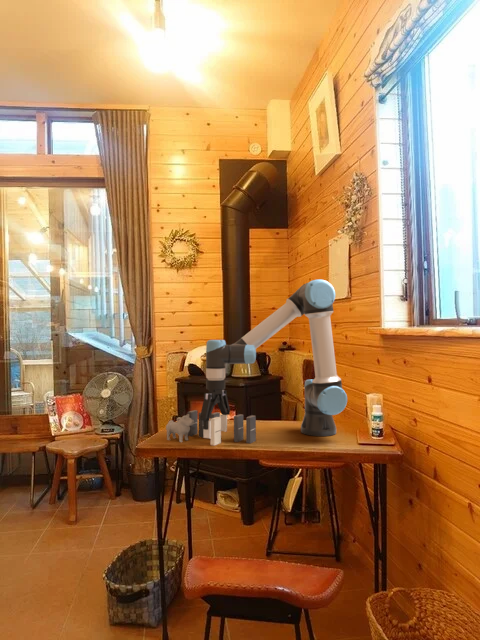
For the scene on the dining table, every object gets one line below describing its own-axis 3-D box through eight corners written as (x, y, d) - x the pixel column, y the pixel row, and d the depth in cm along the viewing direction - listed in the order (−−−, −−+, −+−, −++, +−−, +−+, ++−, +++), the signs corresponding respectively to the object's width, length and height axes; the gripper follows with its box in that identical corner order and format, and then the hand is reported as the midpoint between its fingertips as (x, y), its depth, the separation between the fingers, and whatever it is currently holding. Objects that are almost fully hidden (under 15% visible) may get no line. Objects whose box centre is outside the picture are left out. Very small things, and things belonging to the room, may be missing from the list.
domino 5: (255, 440, 180) (255, 415, 181) (250, 443, 176) (250, 417, 176) (251, 440, 181) (251, 415, 182) (246, 443, 177) (246, 417, 177)
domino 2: (208, 435, 190) (208, 411, 191) (202, 437, 186) (202, 413, 186) (204, 434, 191) (204, 411, 192) (198, 437, 187) (198, 413, 187)
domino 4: (243, 439, 183) (243, 414, 183) (238, 442, 178) (237, 416, 179) (239, 438, 184) (239, 414, 184) (233, 441, 179) (233, 416, 180)
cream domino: (221, 442, 177) (220, 417, 178) (214, 445, 173) (214, 419, 173) (216, 442, 178) (216, 416, 179) (210, 445, 174) (210, 419, 174)
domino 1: (197, 434, 193) (197, 410, 193) (191, 436, 188) (191, 412, 189) (193, 433, 194) (193, 410, 194) (187, 435, 189) (187, 412, 190)
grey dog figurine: (188, 443, 176) (188, 416, 176) (164, 439, 183) (164, 413, 183) (196, 441, 180) (196, 414, 181) (172, 437, 187) (172, 411, 188)
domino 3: (220, 436, 188) (220, 412, 188) (214, 439, 183) (213, 414, 184) (216, 436, 189) (216, 412, 189) (209, 438, 184) (209, 414, 185)
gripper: (222, 376, 189) (222, 427, 188) (190, 381, 167) (190, 440, 166) (238, 376, 186) (238, 429, 185) (207, 382, 164) (207, 442, 163)
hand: (215, 434), depth 176 cm, fingers open, 12 cm apart
